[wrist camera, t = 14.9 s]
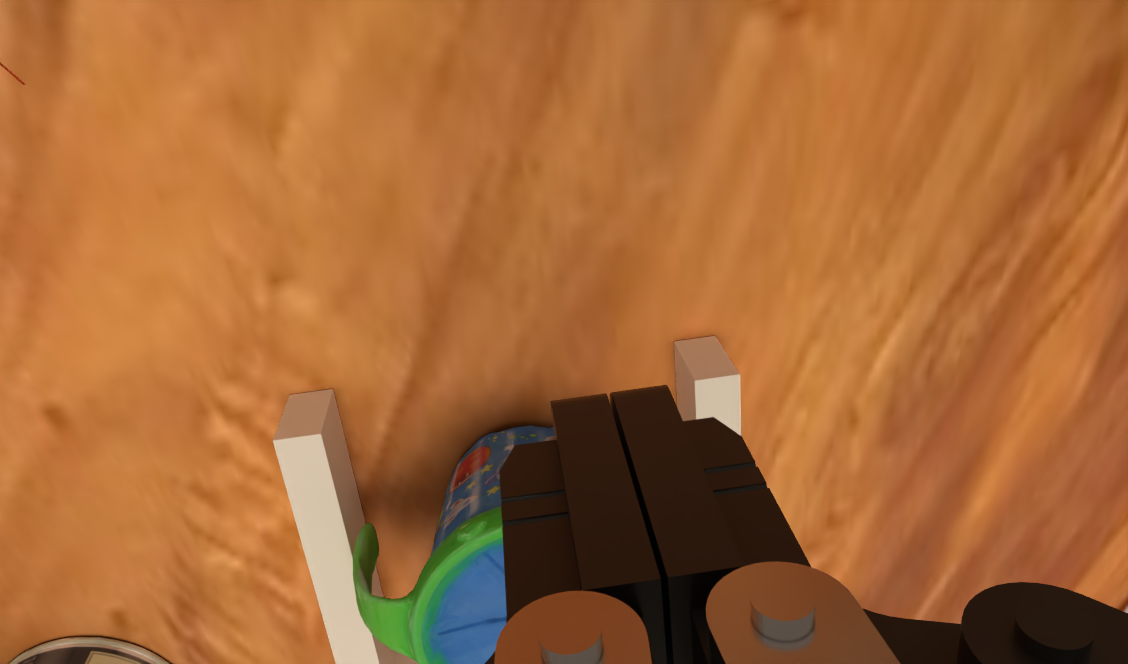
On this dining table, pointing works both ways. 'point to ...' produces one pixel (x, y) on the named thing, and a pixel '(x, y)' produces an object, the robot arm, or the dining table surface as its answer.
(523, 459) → the robot arm
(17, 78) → the figurine
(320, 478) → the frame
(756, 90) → the dining table surface
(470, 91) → the dining table surface
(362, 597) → the snack cup
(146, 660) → the coffee can
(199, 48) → the dining table surface
